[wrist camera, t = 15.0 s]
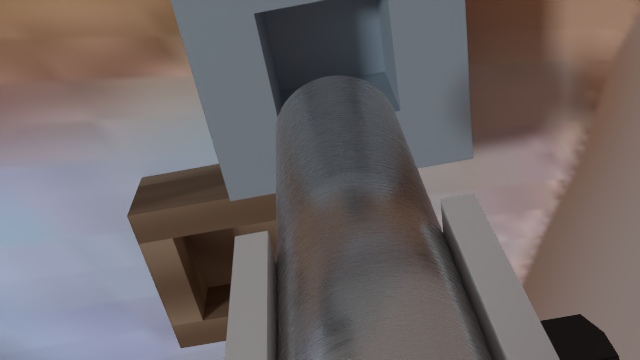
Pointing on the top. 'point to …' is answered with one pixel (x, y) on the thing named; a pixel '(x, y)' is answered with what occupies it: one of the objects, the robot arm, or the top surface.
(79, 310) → the top surface
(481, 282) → the robot arm
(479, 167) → the top surface
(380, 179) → the peg
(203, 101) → the socket block
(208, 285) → the brown square frame
